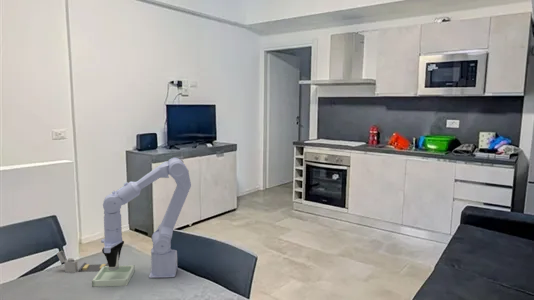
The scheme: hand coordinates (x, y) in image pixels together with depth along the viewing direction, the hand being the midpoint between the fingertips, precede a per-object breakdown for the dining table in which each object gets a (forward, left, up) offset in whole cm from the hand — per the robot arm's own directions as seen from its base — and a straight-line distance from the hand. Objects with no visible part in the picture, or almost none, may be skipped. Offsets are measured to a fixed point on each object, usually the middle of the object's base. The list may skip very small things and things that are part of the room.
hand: (113, 264), depth 133 cm
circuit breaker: (+19, -7, -6) cm, 21 cm away
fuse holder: (+10, -9, -6) cm, 15 cm away
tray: (0, 0, -6) cm, 6 cm away
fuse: (0, 0, -2) cm, 2 cm away
